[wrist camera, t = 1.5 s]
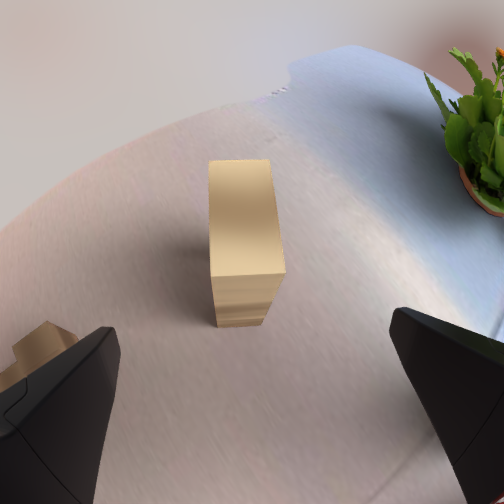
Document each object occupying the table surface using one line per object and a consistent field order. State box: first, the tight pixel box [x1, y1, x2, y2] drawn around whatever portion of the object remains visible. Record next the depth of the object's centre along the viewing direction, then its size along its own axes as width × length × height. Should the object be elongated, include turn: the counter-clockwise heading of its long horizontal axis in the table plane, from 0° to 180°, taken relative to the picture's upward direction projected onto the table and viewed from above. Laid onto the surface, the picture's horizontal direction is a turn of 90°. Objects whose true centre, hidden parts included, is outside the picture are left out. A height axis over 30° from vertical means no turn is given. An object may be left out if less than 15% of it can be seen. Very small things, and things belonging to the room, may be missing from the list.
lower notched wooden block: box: [0, 321, 78, 393], centre depth 16 cm, size 12×2×4 cm, turn 128°
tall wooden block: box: [209, 160, 286, 328], centre depth 18 cm, size 6×3×10 cm, turn 5°
